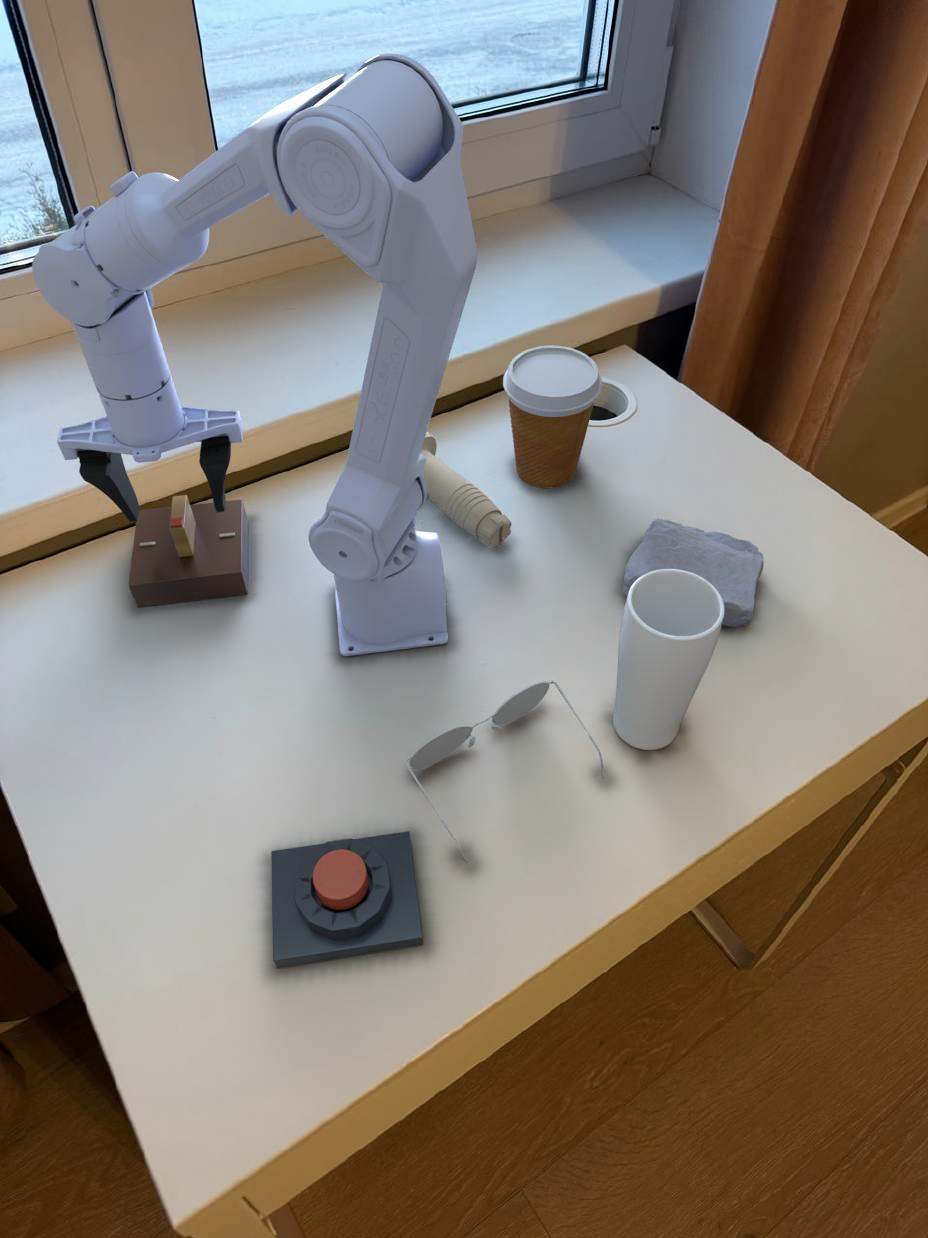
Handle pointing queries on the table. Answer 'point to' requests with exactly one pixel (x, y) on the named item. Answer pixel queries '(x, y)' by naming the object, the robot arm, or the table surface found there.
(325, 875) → the bell button
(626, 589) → the stone block
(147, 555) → the plate
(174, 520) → the thumbturn
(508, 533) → the handle
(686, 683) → the drinking glass
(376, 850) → the block
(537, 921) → the table surface
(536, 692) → the sunglasses
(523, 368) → the disposable coffee cup
